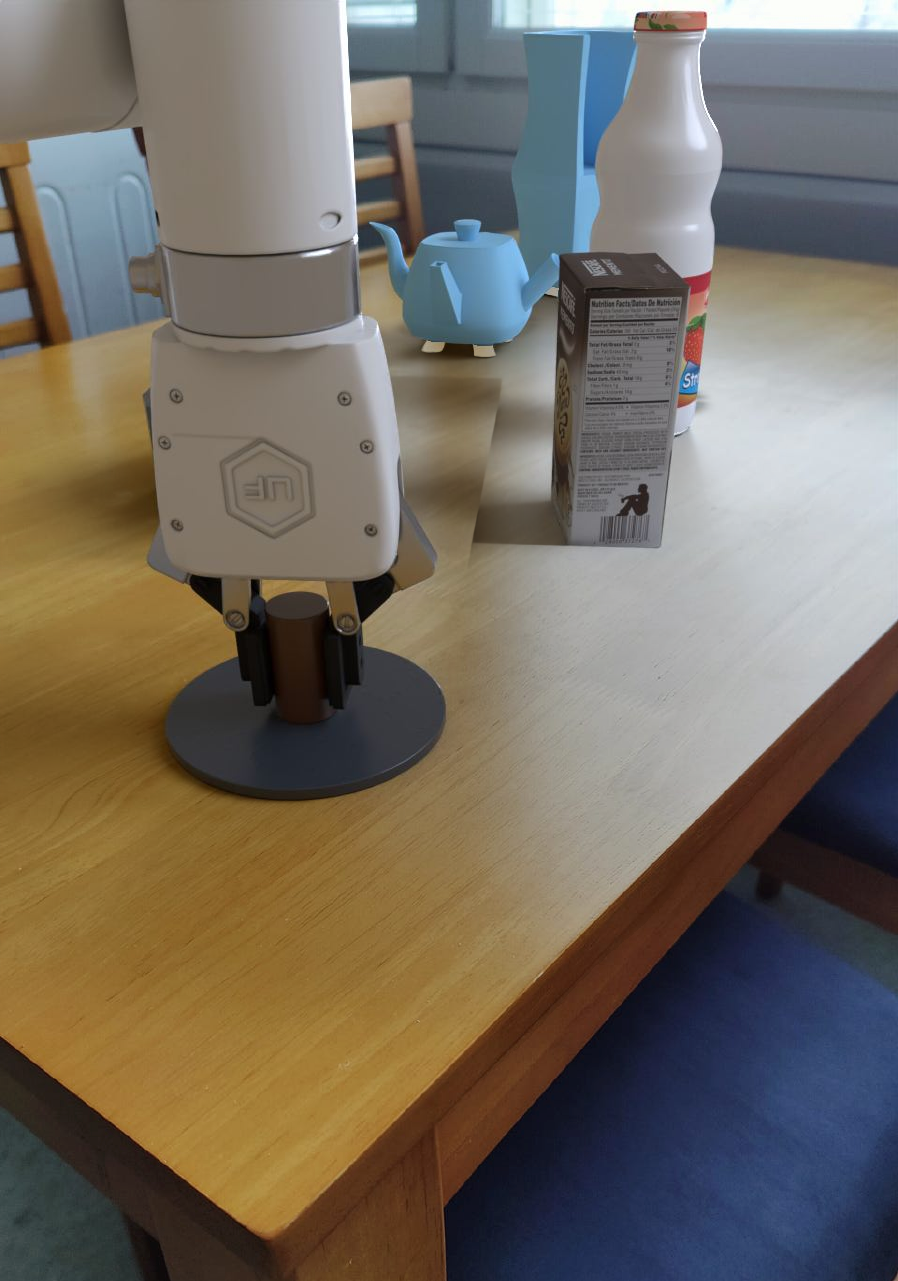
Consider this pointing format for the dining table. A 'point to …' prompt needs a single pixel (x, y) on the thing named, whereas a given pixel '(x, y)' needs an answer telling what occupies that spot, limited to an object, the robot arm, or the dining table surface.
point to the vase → (566, 136)
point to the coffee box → (616, 396)
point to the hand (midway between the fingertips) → (305, 690)
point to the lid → (305, 716)
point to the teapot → (466, 285)
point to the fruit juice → (664, 173)
